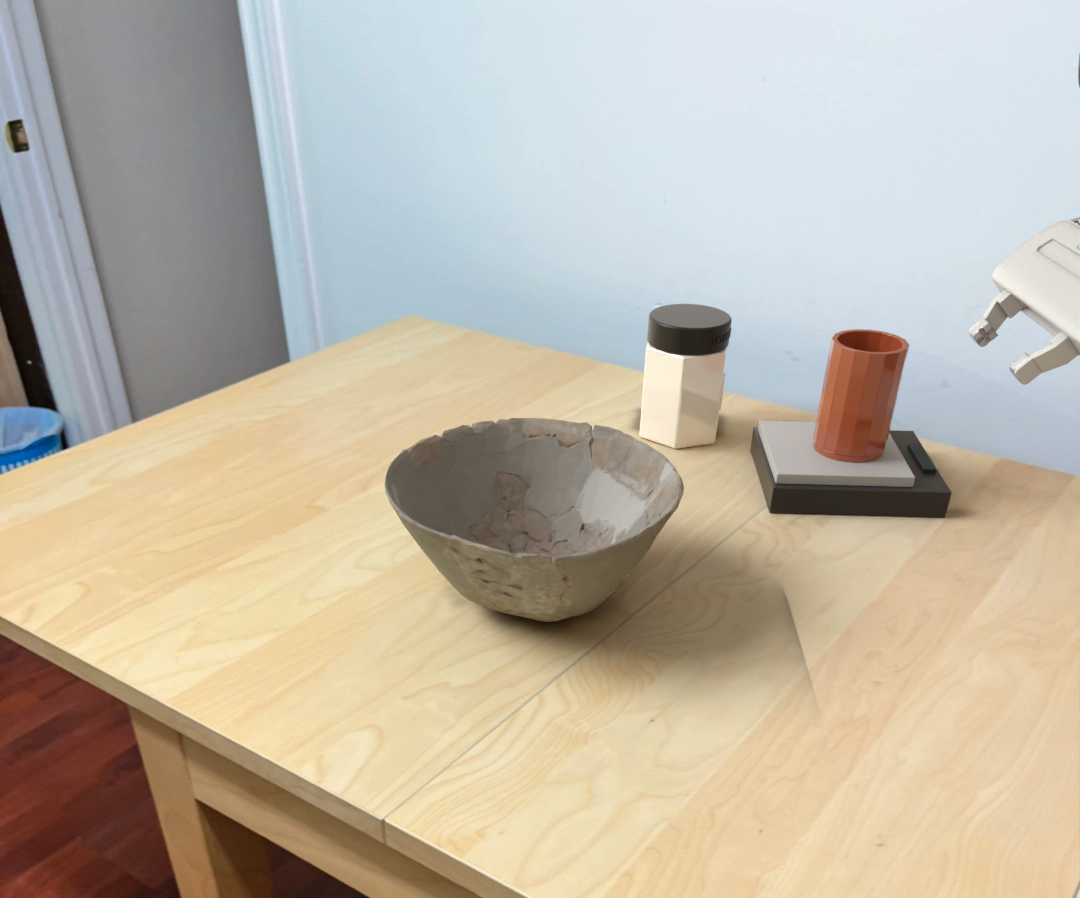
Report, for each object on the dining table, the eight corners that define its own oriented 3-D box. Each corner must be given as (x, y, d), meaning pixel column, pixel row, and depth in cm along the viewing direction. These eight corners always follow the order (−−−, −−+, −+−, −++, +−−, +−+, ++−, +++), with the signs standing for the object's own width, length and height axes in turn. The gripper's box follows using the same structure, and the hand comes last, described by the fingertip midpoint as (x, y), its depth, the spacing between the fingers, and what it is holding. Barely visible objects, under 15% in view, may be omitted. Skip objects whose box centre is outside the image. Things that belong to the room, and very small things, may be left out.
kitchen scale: (907, 454, 106) (915, 421, 104) (945, 517, 95) (955, 482, 93) (750, 450, 106) (754, 417, 104) (769, 513, 95) (775, 477, 93)
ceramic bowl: (458, 704, 72) (452, 579, 66) (357, 555, 88) (345, 443, 82) (729, 632, 79) (746, 513, 73) (590, 506, 96) (595, 400, 89)
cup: (875, 435, 101) (898, 330, 95) (891, 463, 96) (917, 354, 89) (807, 433, 101) (825, 328, 95) (819, 462, 96) (840, 352, 89)
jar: (715, 453, 105) (730, 333, 98) (635, 446, 106) (644, 326, 99) (720, 419, 112) (734, 305, 105) (644, 413, 113) (653, 299, 106)
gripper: (1064, 185, 95) (935, 297, 101) (1185, 245, 80) (1024, 375, 85) (1095, 236, 98) (968, 342, 104) (1218, 304, 83) (1059, 425, 88)
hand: (993, 357), depth 95 cm, fingers open, 8 cm apart
